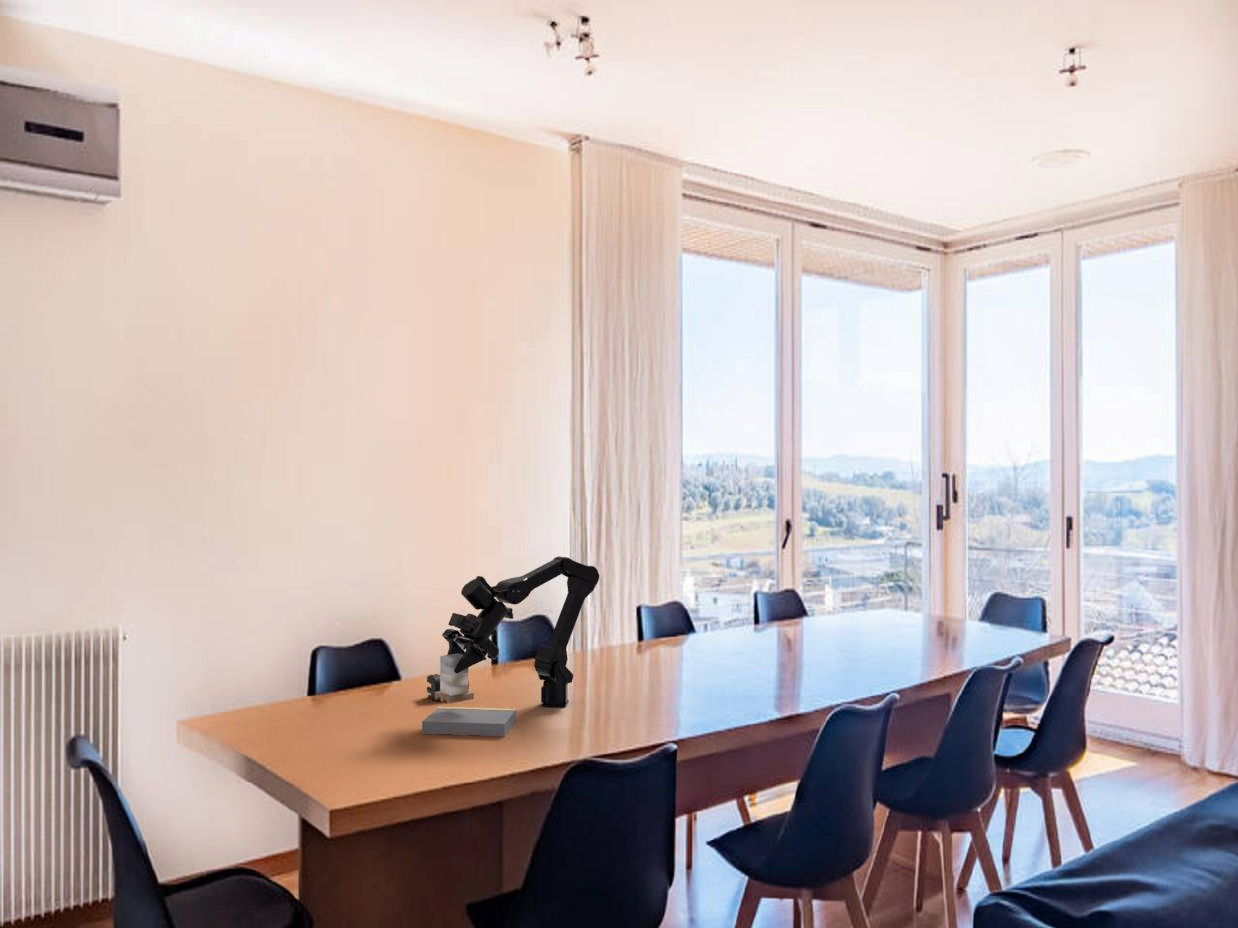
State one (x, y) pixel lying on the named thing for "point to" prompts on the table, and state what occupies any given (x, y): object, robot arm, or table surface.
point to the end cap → (434, 685)
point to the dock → (469, 721)
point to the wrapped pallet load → (453, 681)
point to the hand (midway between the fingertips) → (449, 670)
